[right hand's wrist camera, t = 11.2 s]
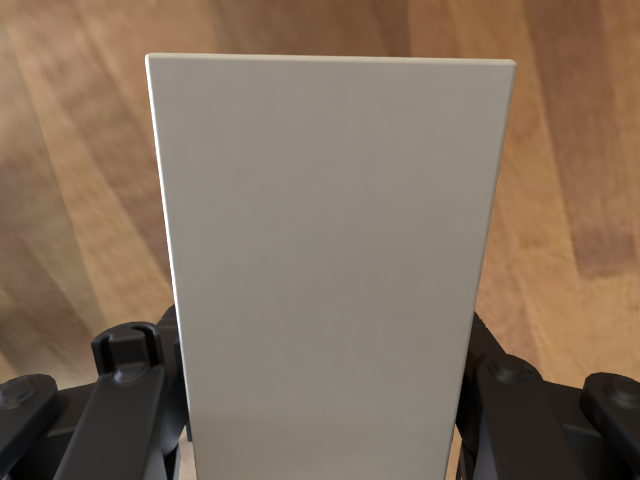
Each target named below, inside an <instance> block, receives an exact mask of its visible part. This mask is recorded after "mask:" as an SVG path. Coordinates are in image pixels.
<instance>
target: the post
mask: <svg viewBox="0 0 640 480" xmlns="http://www.w3.org/2000/svg"><path fill="white" fill-rule="evenodd" d="M145 62H146V70H147V78H148V86H149V94H150V102H151V110H152V118H153V126H154V134H155V143H156V151H157V159H158V167H159V175H160V183H161V191H162V199H163V207H164V215H165V224H166V232H167V240H168V248H169V256H170V264H171V272H172V280H173V288H174V296H175V305H176V313H177V321H178V329H179V337H180V345H181V353H182V361H183V369H184V377H185V386H186V394H187V402H188V410H189V418H190V426H191V434H192V442H193V450H194V459H195V467H196V475H197V480H445V477H446V472H447V466H448V460H449V454H450V449H451V443H452V437H453V431H454V426H455V420H456V414H457V408H458V403H459V397H460V391H461V385H462V380H463V374H464V368H465V362H466V357H467V351H468V345H469V339H470V334H471V328H472V322H473V316H474V311H475V305H476V299H477V293H478V288H479V282H480V276H481V270H482V264H483V259H484V253H485V247H486V241H487V236H488V230H489V224H490V218H491V213H492V207H493V201H494V195H495V190H496V184H497V178H498V172H499V167H500V161H501V155H502V149H503V144H504V138H505V132H506V126H507V121H508V115H509V109H510V103H511V98H512V92H513V86H514V80H515V75H516V69H517V65H516V62H514V61H513V60H510V59H459V58H407V57H356V56H304V55H252V54H201V53H150V54H147V55H146V59H145Z"/></svg>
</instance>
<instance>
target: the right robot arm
mask: <svg viewBox="0 0 640 480" xmlns="http://www.w3.org/2000/svg"><path fill="white" fill-rule="evenodd" d="M91 346H92V351H93V355H94V359H95V363H96V367H97V371H98V375H99V377H98V379H97V382H95V383H91V384H88V385H83V386H79V387H74V388H69V389H64V390H60V391H58V388H57V385H56V381H55V380H54V379H53V378H52V377H51V376H49V375H43V374H34V375H26V376H21V377H19V378H14V379H12V380H9V381H7V382H5V383H3V384H1V385H0V480H178V475H179V466H180V458H181V456H180V449H179V443H178V440H179V438H180V435H181V433H182V431H183V428H184V426H185V425H186V432H187V438H188V442H192V434H191V426H190V418H189V410H188V402H187V394H186V386H185V377H184V369H183V361H182V353H181V345H180V337H179V329H178V321H177V313H176V305H175V304H174V305H173V306H171V307H170V308H168V310H167V311H166V313H165V314H164V315H163V317H162V318H161V320H160V321H159V322H158V324H157V325H155V324H153V323H148V322H130V323H125V324H120V325H117V326H115V327H112V328H110V329H107V330H106V331H104V332H103V333H101V334H99V335H98V336H97V337H96V338H95V339H94V340H93V341H92V342H91ZM455 423H456V426H457V428H458V430H459V433H460V435H461V438H462V443H461V449H460V455H459V461H458V467H457V473H456V480H461V476H462V480H640V383H639V382H637V381H635V380H633V379H631V378H628V377H626V376H622V375H618V374H612V373H604V372H600V373H594V374H591V375H589V376H588V377H587V378H586V379H585V383H584V386H583V389H579V388H574V387H570V386H565V385H560V384H555V383H551V382H548V381H544V380H543V379H542V376H541V375H540V374H539V372H538V371H537V370H536V368H535V367H533V366H532V365H531V364H529V363H528V362H527V361H525V360H523V359H520V358H518V357H516V356H514V355H510V354H506V353H505V351H504V350H503V349H502V347H501V346H500V345H499V343H498V342H497V341H496V339H495V338H494V336H493V335H492V334H491V332H490V331H489V330H488V328H486V327H485V324H484V323H483V322H482V320H481V319H479V316H478V315H477V313H476V312H475V311H474V316H473V322H472V328H471V334H470V339H469V345H468V351H467V357H466V362H465V368H464V374H463V380H462V385H461V391H460V397H459V403H458V408H457V414H456V420H455ZM454 427H455V426H454ZM453 433H454V431H453ZM452 440H453V437H452Z"/></svg>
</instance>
